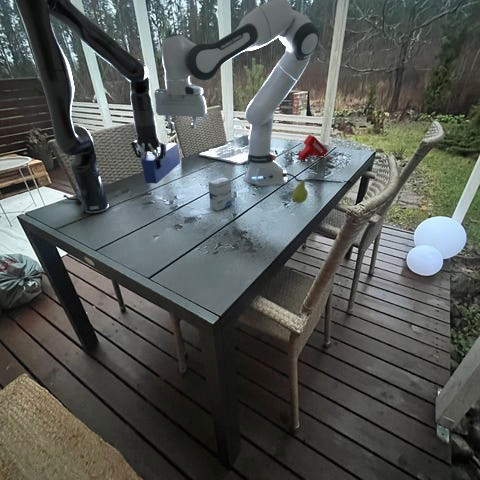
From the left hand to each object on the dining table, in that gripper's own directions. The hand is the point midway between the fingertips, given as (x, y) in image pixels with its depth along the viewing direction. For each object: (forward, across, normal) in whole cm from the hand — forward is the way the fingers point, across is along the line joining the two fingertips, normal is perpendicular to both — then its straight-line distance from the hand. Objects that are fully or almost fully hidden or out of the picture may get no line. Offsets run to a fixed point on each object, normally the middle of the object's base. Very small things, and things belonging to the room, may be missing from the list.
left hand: (153, 168), depth 110 cm
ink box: (+17, +27, +4) cm, 32 cm away
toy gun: (+16, +70, +83) cm, 109 cm away
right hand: (-14, +11, +9) cm, 20 cm away
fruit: (+16, +60, +14) cm, 64 cm away
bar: (+5, 0, +10) cm, 11 cm away
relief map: (+17, +16, +84) cm, 87 cm away
